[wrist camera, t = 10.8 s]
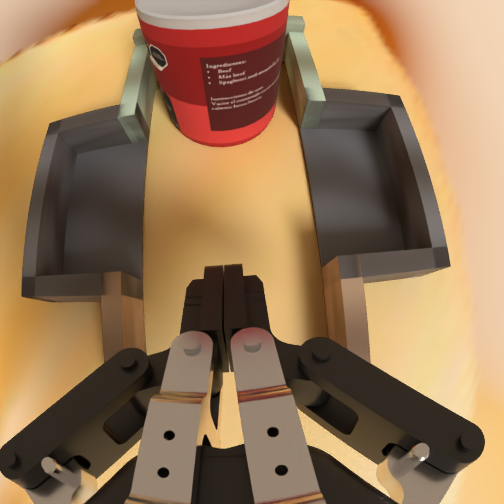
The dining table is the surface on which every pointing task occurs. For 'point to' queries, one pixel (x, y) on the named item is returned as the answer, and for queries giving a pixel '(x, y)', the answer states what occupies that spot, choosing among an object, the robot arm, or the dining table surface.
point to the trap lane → (321, 186)
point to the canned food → (216, 64)
